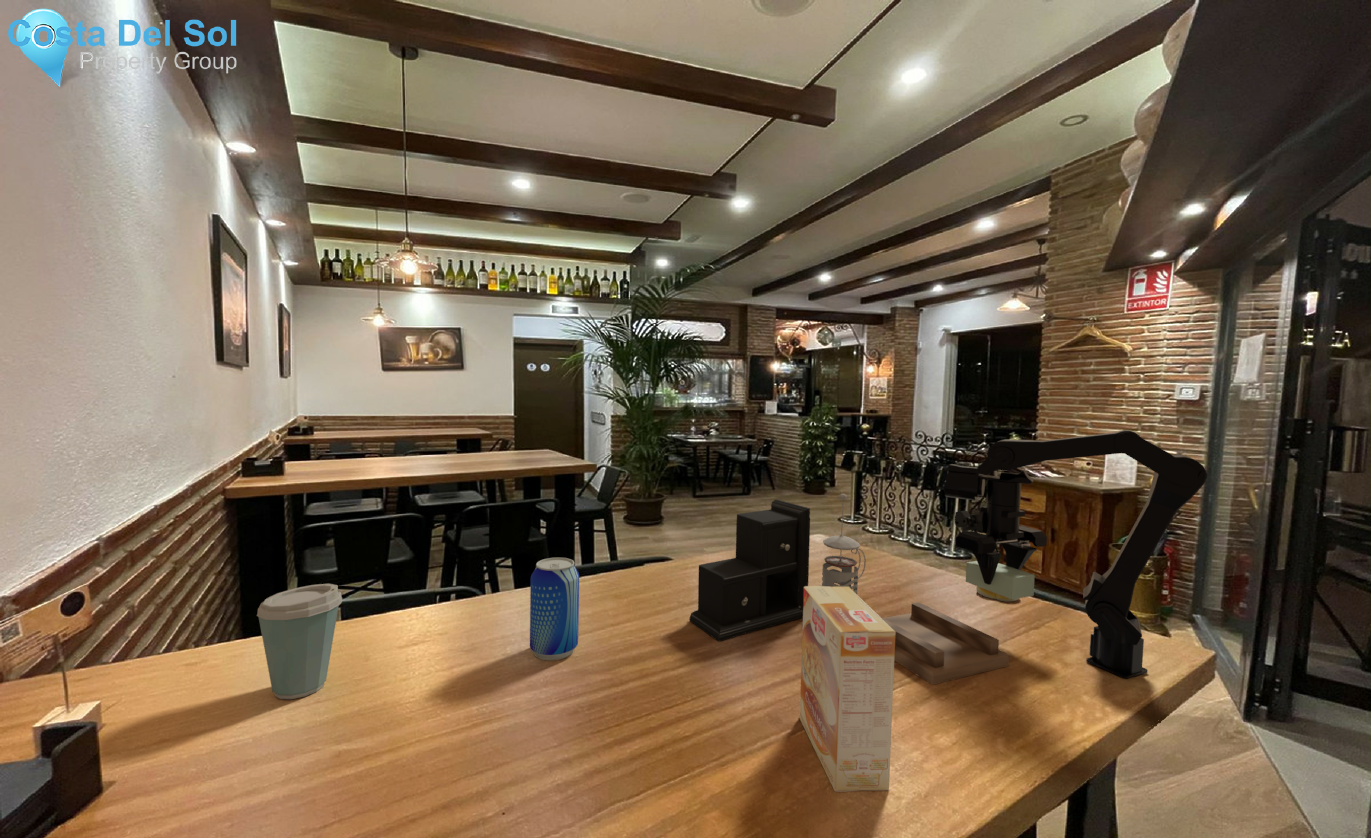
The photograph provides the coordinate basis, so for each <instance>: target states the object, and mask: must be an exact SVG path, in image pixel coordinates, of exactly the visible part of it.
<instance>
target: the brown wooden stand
mask: <svg viewBox="0 0 1371 838" xmlns="http://www.w3.org/2000/svg"><path fill="white" fill-rule="evenodd" d="M880 617H881V618H882V619H883V620H884V621H885V622H886V623H887V624H888V625H889V626H890V627H891V628H892V629H893V630H894V631H895V632H896V635H895V654H894V662H896V663H897V662H898V664H899V665H900V666H902V667H903V668H905V669H907V670H909V671H910V672H912V673H913V674H915V675H916V676H918V677H919V678H921V679H923V680H924V681H926V682H928V683H929V684H930V685H936V684H941V683H946V682H949V681H953V680H958V679H961V678H966V677H969V676H973V675H977V674H982V673H986V672H989V671H994V670H998V669H1003V668H1005V667H1009V665H1010V654H1009V653H1006V652H1004V651H1002V650H1000V649H999V643H1000V639H998V638H996V637H994V636H991V635H990V634H987V633H986V632H983V631H981V630H978V629H977V628H974V627H972V626H970V625H968V624H967V623H964V622H962V621H960V620H957V619H955V618H953V617H951V616H949V615H946V614H945V613H942V612H940V611H939V610H936V609H935V608H932V607H930V606H928V605H926V604H924V603H922V602H913V603H911V612H910V613H909V612H907V613H904V614H898V615H891V616H887V617H882V616H880Z"/></svg>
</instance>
